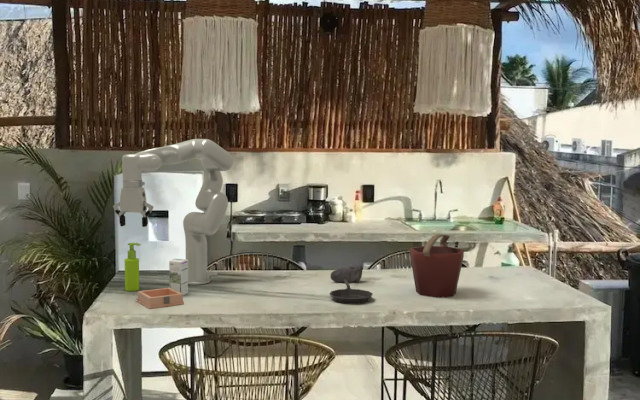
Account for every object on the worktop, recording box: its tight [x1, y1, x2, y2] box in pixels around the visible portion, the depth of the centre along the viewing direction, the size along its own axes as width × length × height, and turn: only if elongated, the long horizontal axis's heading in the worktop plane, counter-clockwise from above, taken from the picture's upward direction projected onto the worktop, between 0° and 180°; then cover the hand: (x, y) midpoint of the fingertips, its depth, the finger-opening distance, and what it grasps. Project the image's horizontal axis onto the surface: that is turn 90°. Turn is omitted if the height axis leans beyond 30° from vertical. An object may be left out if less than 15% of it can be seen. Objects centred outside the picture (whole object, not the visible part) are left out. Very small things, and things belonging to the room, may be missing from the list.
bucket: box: [409, 233, 465, 298], centre depth 292 cm, size 24×22×25 cm
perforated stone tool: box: [330, 266, 363, 284], centre depth 313 cm, size 15×5×7 cm, turn 95°
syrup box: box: [168, 258, 189, 296], centre depth 285 cm, size 6×6×14 cm
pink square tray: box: [136, 287, 185, 309], centre depth 271 cm, size 14×14×4 cm
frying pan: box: [329, 279, 374, 305], centre depth 287 cm, size 18×32×4 cm, turn 4°
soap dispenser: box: [124, 242, 142, 292], centre depth 293 cm, size 6×7×20 cm
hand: (133, 226), depth 283 cm, fingers open, 9 cm apart
